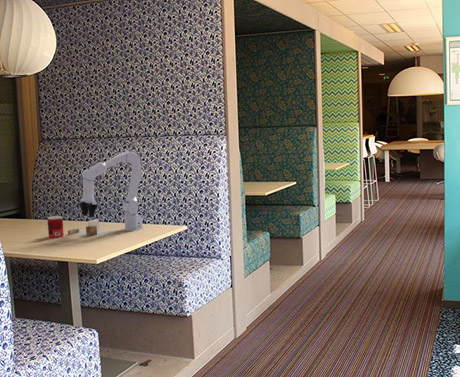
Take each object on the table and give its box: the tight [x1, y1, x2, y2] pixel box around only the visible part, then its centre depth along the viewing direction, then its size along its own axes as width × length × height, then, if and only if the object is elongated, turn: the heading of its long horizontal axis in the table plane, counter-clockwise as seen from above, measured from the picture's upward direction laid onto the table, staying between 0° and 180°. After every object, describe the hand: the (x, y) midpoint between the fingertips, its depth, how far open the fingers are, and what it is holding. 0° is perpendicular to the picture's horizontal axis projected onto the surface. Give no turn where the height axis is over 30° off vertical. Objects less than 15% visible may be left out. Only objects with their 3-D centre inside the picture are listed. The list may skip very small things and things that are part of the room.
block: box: [85, 225, 97, 237], centre depth 335 cm, size 4×4×5 cm
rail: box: [67, 228, 80, 236], centre depth 342 cm, size 2×7×2 cm, turn 152°
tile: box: [87, 219, 101, 233], centre depth 342 cm, size 2×7×7 cm, turn 152°
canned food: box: [47, 215, 65, 239], centre depth 335 cm, size 8×8×11 cm
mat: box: [72, 229, 116, 238], centre depth 342 cm, size 20×17×1 cm
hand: (88, 216), depth 339 cm, fingers open, 7 cm apart
